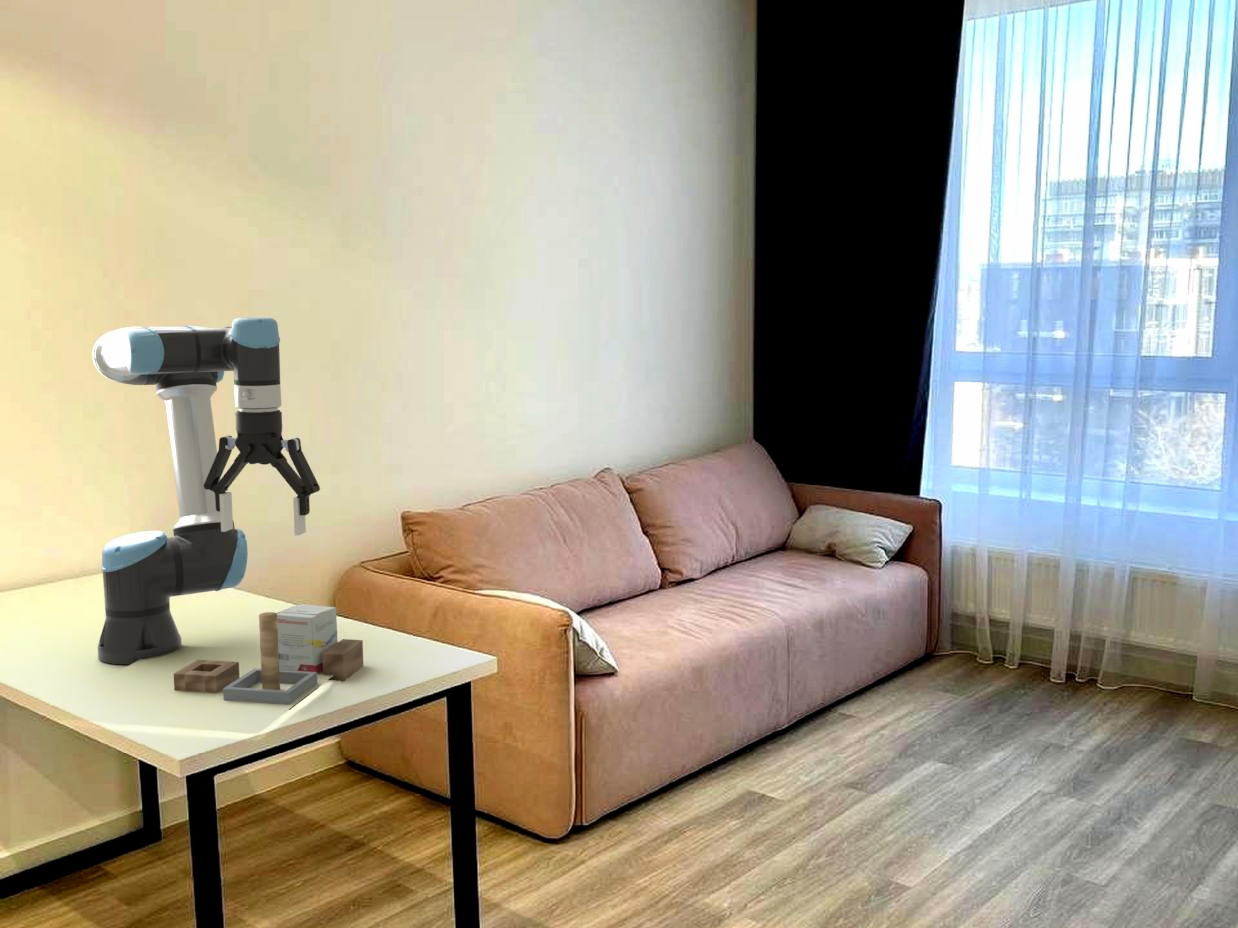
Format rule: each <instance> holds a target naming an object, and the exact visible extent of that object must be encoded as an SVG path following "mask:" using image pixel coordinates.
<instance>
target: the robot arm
mask: <svg viewBox="0 0 1238 928" xmlns="http://www.w3.org/2000/svg"><path fill="white" fill-rule="evenodd" d="M280 343H281V338H280V332H279V324H278V322H277V320H276V319H274V318H272V317H237V318H234V319H233V320H232V322H231V326H225V327H205V326H198V325H197V326H194V325H193V326H192V325H188V324H187V325H170V326H169V325H166V326H165V325H164V326H163V325H162V326H129V327H123V328H118V329H115V330H111V331H108V332H106V333H104V334H103V335H102V336H101V337H99V338H98V339H97V340H96V342H95V344H94V345H93V348H92V354H91V357H92V362H93V365H94V368H96V370H97V371H98V372H99V373H100V375H102V376H103V377H105V378H106V379H108V380H110V381H112V382H116V383H121V384H125V385H133V386H155V390H156V393H155V394H156V396H157V397H159V398H160V399H161V400H162V401H164V403H165V407H166V408H165V409H166V414H167V424H168V431H169V433H168V434H169V439H170V441H169V442H170V448H171V456H172V464H173V465H172V466H173V472H174V473H173V474H174V483H175V489H176V497H177V498H176V500H177V505H178V513H179V520H178V522H177V523H176V524H175V525H174V526H173V528H172V532H173V536H172V537H171V536H170V537H167V536H168V535H166V533H165V532H164V531H161V530H148V531H147V530H145V531H139V532H135V533H134V532H133V533H129V534H126V535H122V536H119V537H116V538H113V539H112V540H110V541H109V542H107V543H106V544H105V545H104V546H103V549H102V552H101V567H100V569H101V571H102V578H103V579H102V580H103V595H104V596H103V597H104V609H105V613H104V614H105V618H104V619H105V620H104V623H103V626H102V630H101V634H100V637H99V641H98V644H97V657H98V660H99V661H100V662H103V663H107V664H112V665H132V664H133V665H134V663H137V662H138V661H141V660H147V659H154V658H159V657H162V656H166V655H168V654H171V653H174V652H176V651H177V650H179V649H180V648H181V647H182V637H181V634H180V632H179V630H178V626H177V624H176V622H175V620H174V618H173V615H172V613H171V605H170V604H171V602H170V600H171V599H170V598H172V597H178V596H179V597H180V596H185V595H193V594H194V595H195V594H199V593H208V592H213V591H215V592H219V591H222V590H225V589H226V590H227V589H232V588H235V587H237V586H238V585H240V584H241V582H243V580H244V577H245V574H246V570H247V565H248V541H247V539H246V535H245V533H244V531H243V530H241V529H239V528H235V521H234V518H233V498H232V497H233V496H232V491H229V488H230V486H231V485H232V484H233V483H234V481H235V480H236V478H237V477H238V476H239V475H240V474H241V472H242V471H243V470H244V468H245V467H246V466H247V464H249V465H255V464H260V465H270V466H272V467H273V468H274V469H276V470H277V472H278V473H279V474H280V475H281V477H282V478H283V480H284V481H286V483H287V484H288V486H290V488H291V490H293V492H295V494H296V496H294V497H292V501H293V502H292V503H293V523H294V524H293V525H294V526H293V528H294V529H293V530H294V532H293V533H294V536H301V535H303V534H305V533H306V532H307V529H306V528H307V527H306V516H308V515H309V513H310V512H311V509H310V507H311V506H310V496H311V495H312V494H315V493H317V492H320V490H321V487H320V484H319V483H318V480H317V478H316V477H315V474H314V472H313V471H312V468H311V466H310V464H309V463H308V460H307V458H306V456H305V455H304V452H303V451H302V443H301V439H300V438H299V437H295V438H290V439H284V438H283V435H282V433H283V414H282V411H281V410H280V409H279V408H281V406H282V405H283V404H282V389H281V364H280V363H281V361H280V354H281V353H280ZM225 372H233V388H234V407H235V408H236V409H238V410H237V411H236V412H235V431H236V434H237V435H236V437H233V436H232V435H227V436H222V437H220V438H219V439H218V447H217V440H216V434H215V425H214V418H213V409H212V402H211V401H212V400H211V399H212V396H213V395H214V394H215V393H216V392H217V390H218V387H217V385H218V383H220V382H222V380H223V379H224V376H225ZM235 447H236V449H237V450H238V452H239V454H237V456H236V458H235V459H234V460H233V463H232V464H231V465H230V467H229V468H228V469H227V471H226V472H225V473H224V470H225V468H226V466H227V465H228V464H227V463H228V461H229V459H230V457H231V454H232V451H233V450H234V449H235ZM217 448H218V449H217ZM284 448H285V451H286V452H287V453H288V455H289V457H290V460H291V462H292V464H293V466H294V468H295V469H296V471H297V472H296V471H295V469H294V468H293V467H292V466H291V465H290V464H289V462H288V459H287V458H286V456H285V455H284V454H283V453H282V451H283V449H284ZM223 473H224V475H223Z"/></svg>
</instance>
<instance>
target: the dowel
mask: <svg viewBox="0 0 1238 928" xmlns="http://www.w3.org/2000/svg"><path fill="white" fill-rule="evenodd" d="M277 613H278V612H273V611H266V612H262V613H259V615H258V622H259V623H258V624H259V625H258V627H259V642H260V643H259V645H260V646H259V647H260V666H261V667H260V669H261V673H262V682H261V689H270V690H281V683H280V671H279V648H278V625H277Z"/></svg>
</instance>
